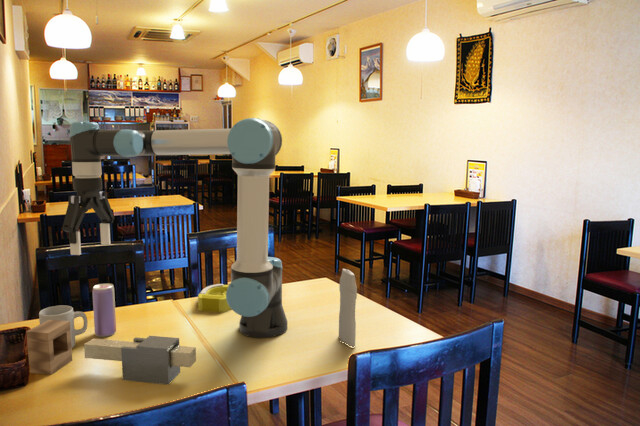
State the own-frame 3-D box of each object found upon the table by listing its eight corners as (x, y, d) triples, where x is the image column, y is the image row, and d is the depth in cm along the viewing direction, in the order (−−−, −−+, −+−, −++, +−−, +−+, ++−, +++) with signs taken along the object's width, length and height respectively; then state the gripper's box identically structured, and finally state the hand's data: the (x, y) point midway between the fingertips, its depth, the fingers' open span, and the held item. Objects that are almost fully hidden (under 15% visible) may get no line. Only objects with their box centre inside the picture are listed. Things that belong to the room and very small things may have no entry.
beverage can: (108, 338, 141) (105, 289, 139) (90, 336, 143) (87, 288, 140) (120, 330, 147) (118, 284, 145) (103, 329, 148) (100, 282, 146)
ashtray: (188, 310, 166) (188, 296, 166) (211, 292, 187) (211, 280, 186) (233, 314, 164) (233, 300, 163) (251, 295, 184) (251, 283, 183)
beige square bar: (196, 360, 119) (195, 347, 118) (189, 367, 115) (189, 353, 115) (93, 351, 123) (92, 338, 122) (84, 357, 119) (83, 344, 119)
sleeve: (180, 372, 121) (179, 338, 120) (168, 384, 115) (167, 348, 114) (136, 368, 123) (135, 334, 122) (122, 380, 117) (121, 344, 116)
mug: (43, 356, 129) (40, 318, 128) (39, 345, 136) (37, 308, 134) (91, 346, 136) (89, 309, 134) (85, 336, 143) (83, 301, 141)
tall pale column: (333, 335, 146) (334, 266, 142) (345, 334, 147) (347, 265, 144) (347, 350, 136) (349, 275, 133) (360, 348, 137) (362, 274, 134)
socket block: (72, 360, 127) (69, 321, 125) (51, 374, 119) (48, 333, 118) (52, 358, 128) (49, 319, 126) (29, 372, 120) (26, 331, 118)
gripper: (102, 173, 149) (106, 240, 152) (43, 179, 124) (49, 258, 128) (124, 174, 148) (127, 241, 151) (69, 180, 123) (74, 260, 126)
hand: (91, 249), depth 139 cm, fingers open, 13 cm apart
